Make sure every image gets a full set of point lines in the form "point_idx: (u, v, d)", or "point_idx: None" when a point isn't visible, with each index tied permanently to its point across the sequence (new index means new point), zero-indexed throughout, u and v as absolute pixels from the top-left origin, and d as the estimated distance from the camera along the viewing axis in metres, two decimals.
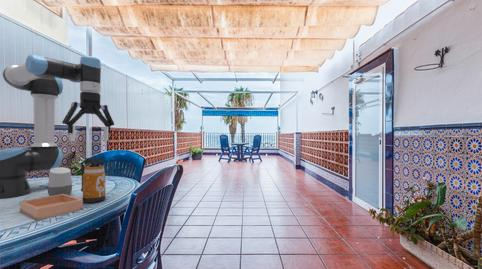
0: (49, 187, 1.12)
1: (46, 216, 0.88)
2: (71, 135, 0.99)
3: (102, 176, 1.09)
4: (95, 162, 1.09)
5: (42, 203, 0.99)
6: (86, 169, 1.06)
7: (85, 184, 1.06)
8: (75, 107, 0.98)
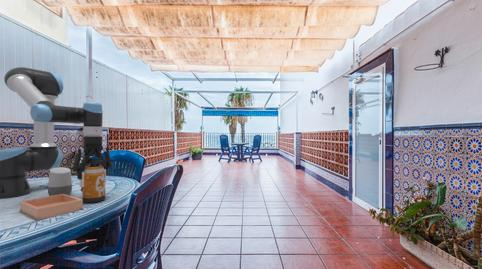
0: (49, 187, 1.12)
1: (46, 216, 0.88)
2: (80, 181, 1.06)
3: (102, 176, 1.09)
4: (95, 162, 1.08)
5: (42, 203, 0.99)
6: (86, 169, 1.06)
7: (85, 184, 1.06)
8: (80, 154, 1.04)
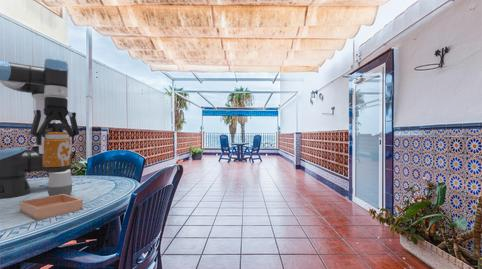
0: (49, 187, 1.12)
1: (46, 216, 0.88)
2: (39, 147, 0.93)
3: (65, 143, 0.95)
4: (57, 127, 0.95)
5: (42, 203, 0.99)
6: (46, 134, 0.93)
7: (45, 151, 0.92)
8: (39, 116, 0.91)
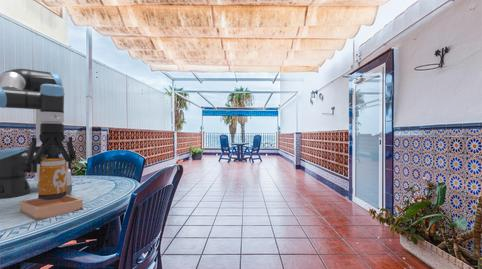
0: None
1: (46, 216, 0.88)
2: (35, 174, 0.92)
3: (61, 170, 0.94)
4: (53, 153, 0.94)
5: (42, 203, 0.99)
6: (42, 161, 0.92)
7: (40, 178, 0.91)
8: (34, 143, 0.90)
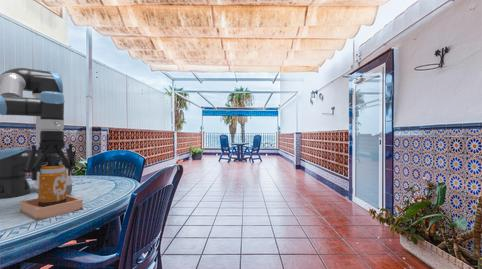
0: None
1: (46, 216, 0.88)
2: (35, 182, 0.92)
3: (61, 177, 0.94)
4: (53, 161, 0.94)
5: None
6: (42, 169, 0.92)
7: (40, 186, 0.91)
8: (34, 151, 0.90)
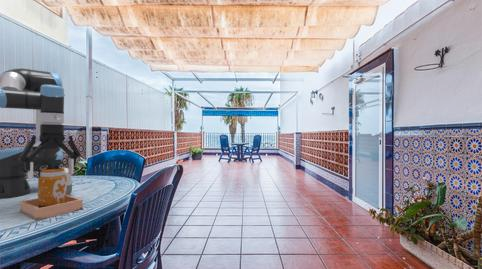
0: None
1: (46, 216, 0.88)
2: (28, 173, 0.90)
3: (61, 180, 0.94)
4: (53, 164, 0.94)
5: None
6: (42, 172, 0.92)
7: (40, 189, 0.91)
8: (32, 142, 0.90)
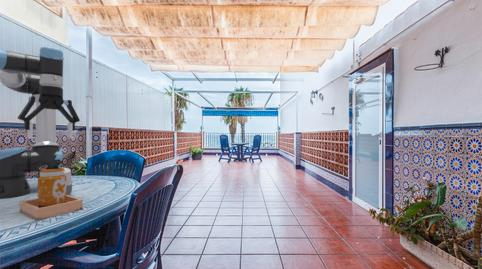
0: None
1: (46, 216, 0.88)
2: (28, 132, 0.92)
3: (61, 180, 0.94)
4: (52, 164, 0.94)
5: None
6: (41, 172, 0.92)
7: (40, 189, 0.91)
8: (32, 102, 0.91)
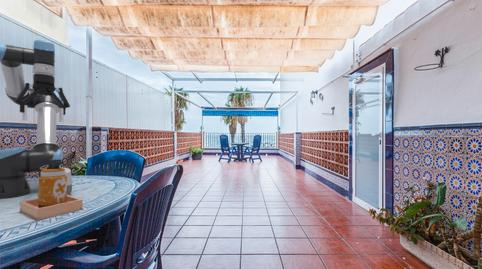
0: None
1: (46, 216, 0.88)
2: (23, 115, 1.04)
3: (61, 180, 0.94)
4: (53, 164, 0.94)
5: None
6: (42, 172, 0.92)
7: (40, 189, 0.91)
8: (26, 88, 1.03)
